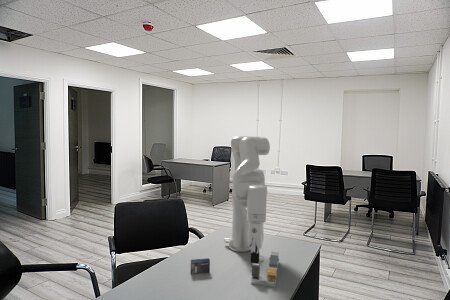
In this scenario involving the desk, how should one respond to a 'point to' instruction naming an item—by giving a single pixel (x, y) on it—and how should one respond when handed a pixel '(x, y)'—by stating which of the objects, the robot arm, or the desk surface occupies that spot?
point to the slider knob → (256, 269)
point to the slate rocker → (274, 259)
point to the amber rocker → (271, 271)
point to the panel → (265, 273)
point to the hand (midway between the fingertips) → (254, 262)
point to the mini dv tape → (200, 266)
